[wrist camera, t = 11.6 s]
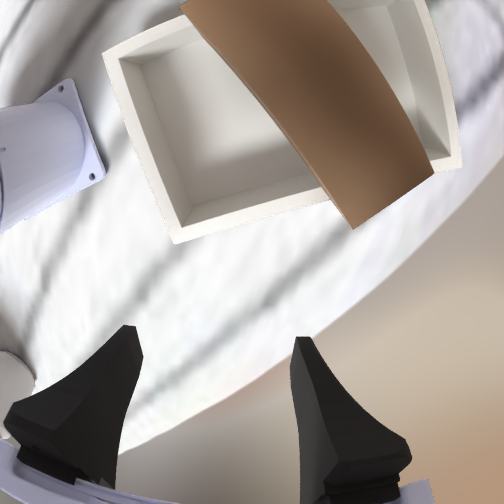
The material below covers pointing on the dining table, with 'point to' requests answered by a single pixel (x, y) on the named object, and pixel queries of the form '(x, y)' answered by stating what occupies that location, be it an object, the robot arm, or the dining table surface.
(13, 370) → the can
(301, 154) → the wooden block
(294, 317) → the dining table surface
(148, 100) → the bin
